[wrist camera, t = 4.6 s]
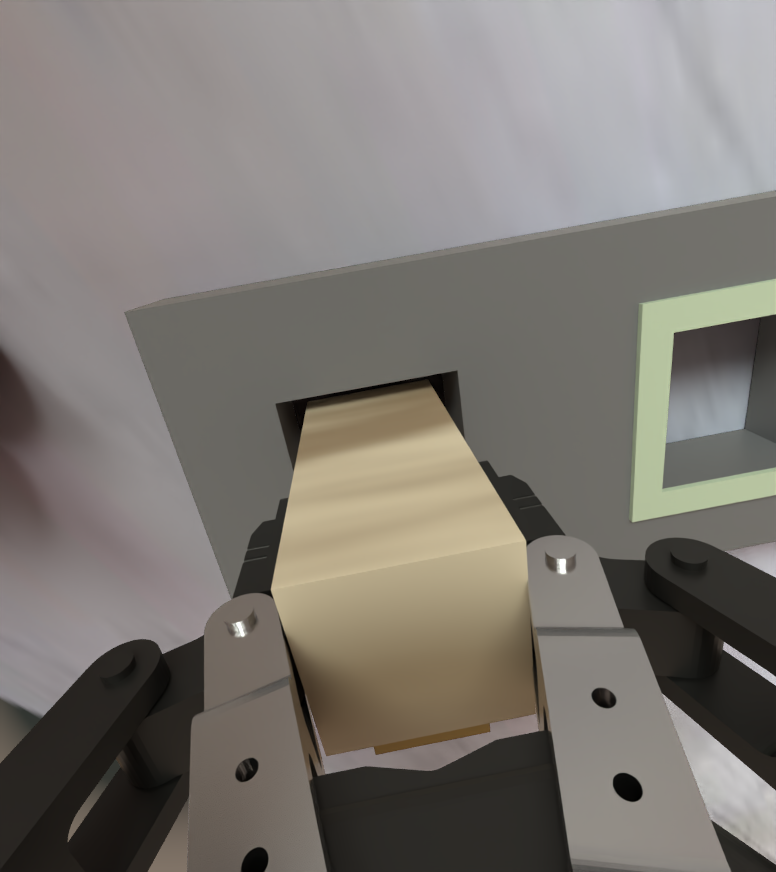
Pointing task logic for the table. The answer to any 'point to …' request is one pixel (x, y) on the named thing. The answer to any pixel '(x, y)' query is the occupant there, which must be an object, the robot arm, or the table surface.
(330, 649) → the plug
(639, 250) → the panel
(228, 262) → the table surface
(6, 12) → the table surface
